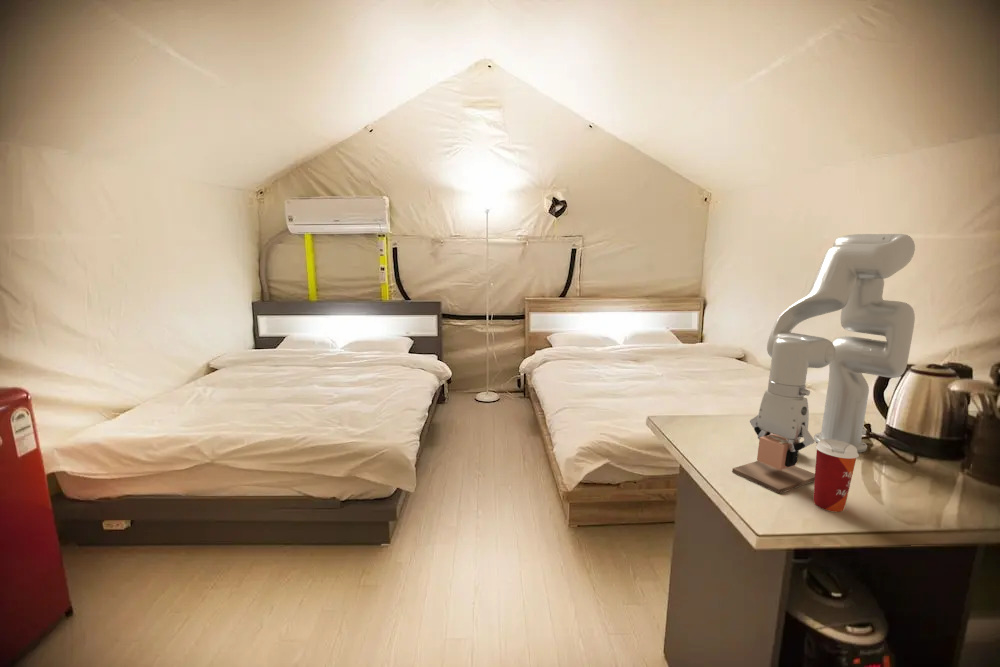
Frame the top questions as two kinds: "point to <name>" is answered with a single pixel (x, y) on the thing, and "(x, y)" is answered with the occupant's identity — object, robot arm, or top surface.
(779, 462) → the lettered cube
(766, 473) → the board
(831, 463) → the paper cup
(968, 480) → the top surface
